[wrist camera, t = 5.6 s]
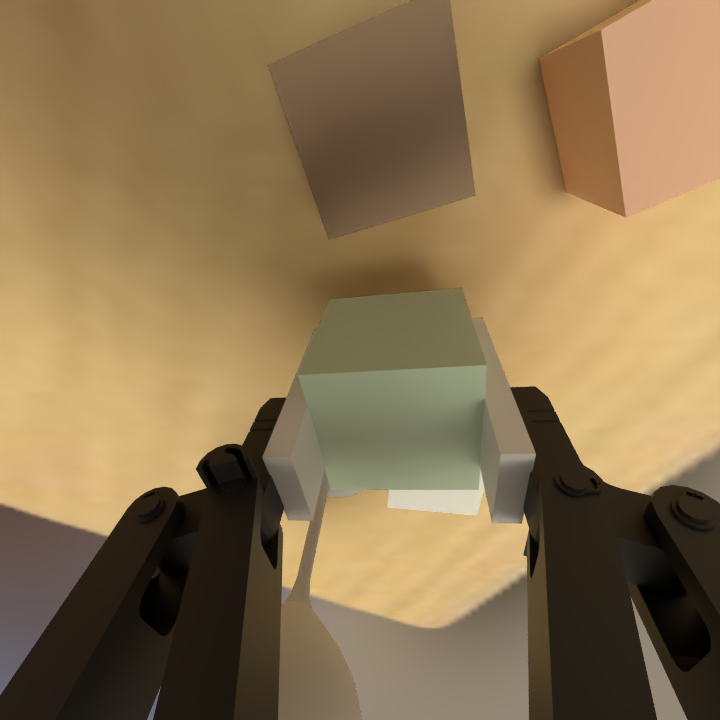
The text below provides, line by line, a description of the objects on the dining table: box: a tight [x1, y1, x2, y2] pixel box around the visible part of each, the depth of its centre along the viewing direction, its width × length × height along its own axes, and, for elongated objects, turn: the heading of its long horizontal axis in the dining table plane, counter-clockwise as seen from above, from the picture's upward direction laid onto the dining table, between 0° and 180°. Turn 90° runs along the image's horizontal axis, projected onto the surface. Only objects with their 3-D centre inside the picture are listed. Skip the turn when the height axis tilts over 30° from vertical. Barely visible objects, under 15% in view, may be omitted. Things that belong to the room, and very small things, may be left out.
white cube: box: [387, 470, 485, 515], centre depth 21 cm, size 5×5×5 cm
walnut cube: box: [268, 0, 475, 240], centre depth 13 cm, size 5×5×5 cm
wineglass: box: [278, 469, 363, 720], centre depth 18 cm, size 8×8×21 cm
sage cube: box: [298, 288, 487, 490], centre depth 13 cm, size 5×5×5 cm
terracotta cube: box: [539, 0, 720, 217], centre depth 11 cm, size 5×5×5 cm
